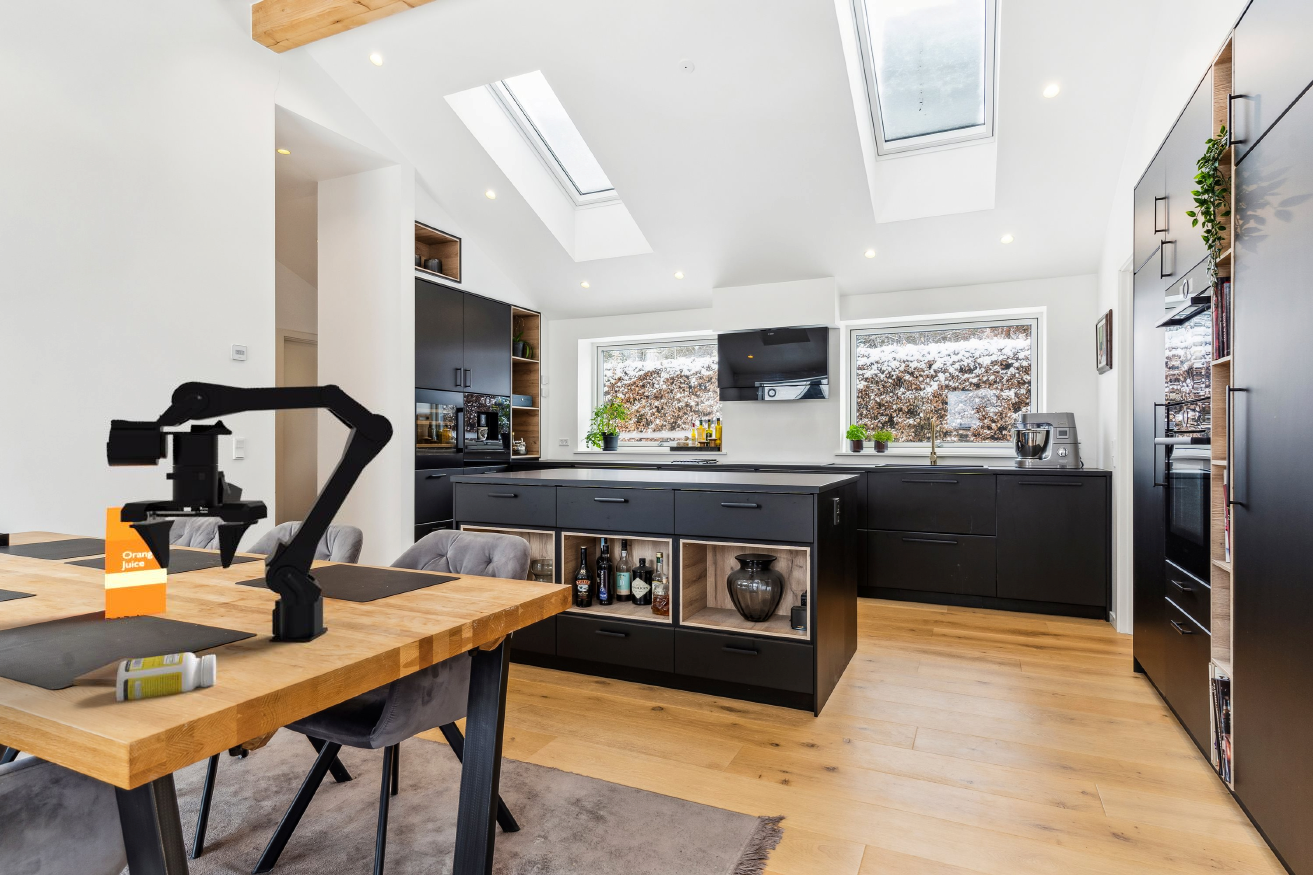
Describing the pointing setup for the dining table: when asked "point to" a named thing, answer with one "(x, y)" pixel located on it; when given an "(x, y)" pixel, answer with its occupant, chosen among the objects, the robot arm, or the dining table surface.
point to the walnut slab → (101, 675)
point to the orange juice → (130, 572)
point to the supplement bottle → (164, 675)
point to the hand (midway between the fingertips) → (195, 568)
